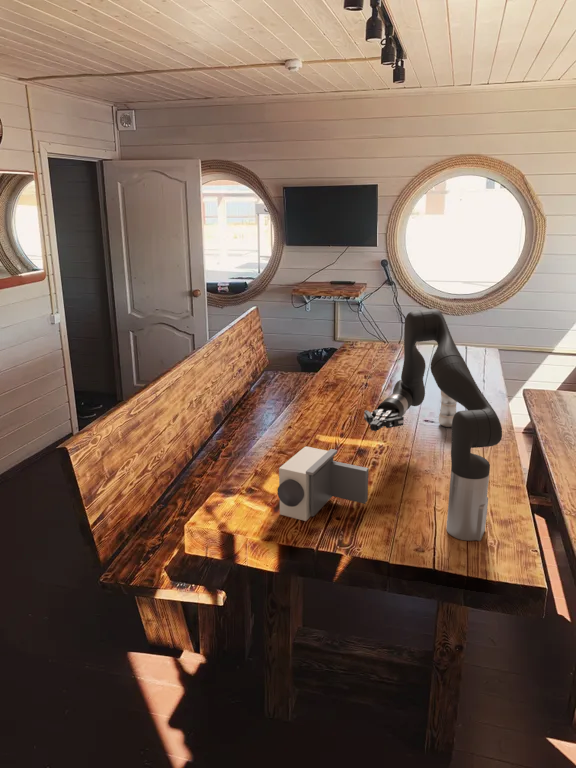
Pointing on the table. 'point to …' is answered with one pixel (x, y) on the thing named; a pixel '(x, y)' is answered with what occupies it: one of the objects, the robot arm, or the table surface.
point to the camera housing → (300, 481)
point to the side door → (338, 484)
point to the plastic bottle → (447, 410)
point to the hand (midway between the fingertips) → (373, 427)
